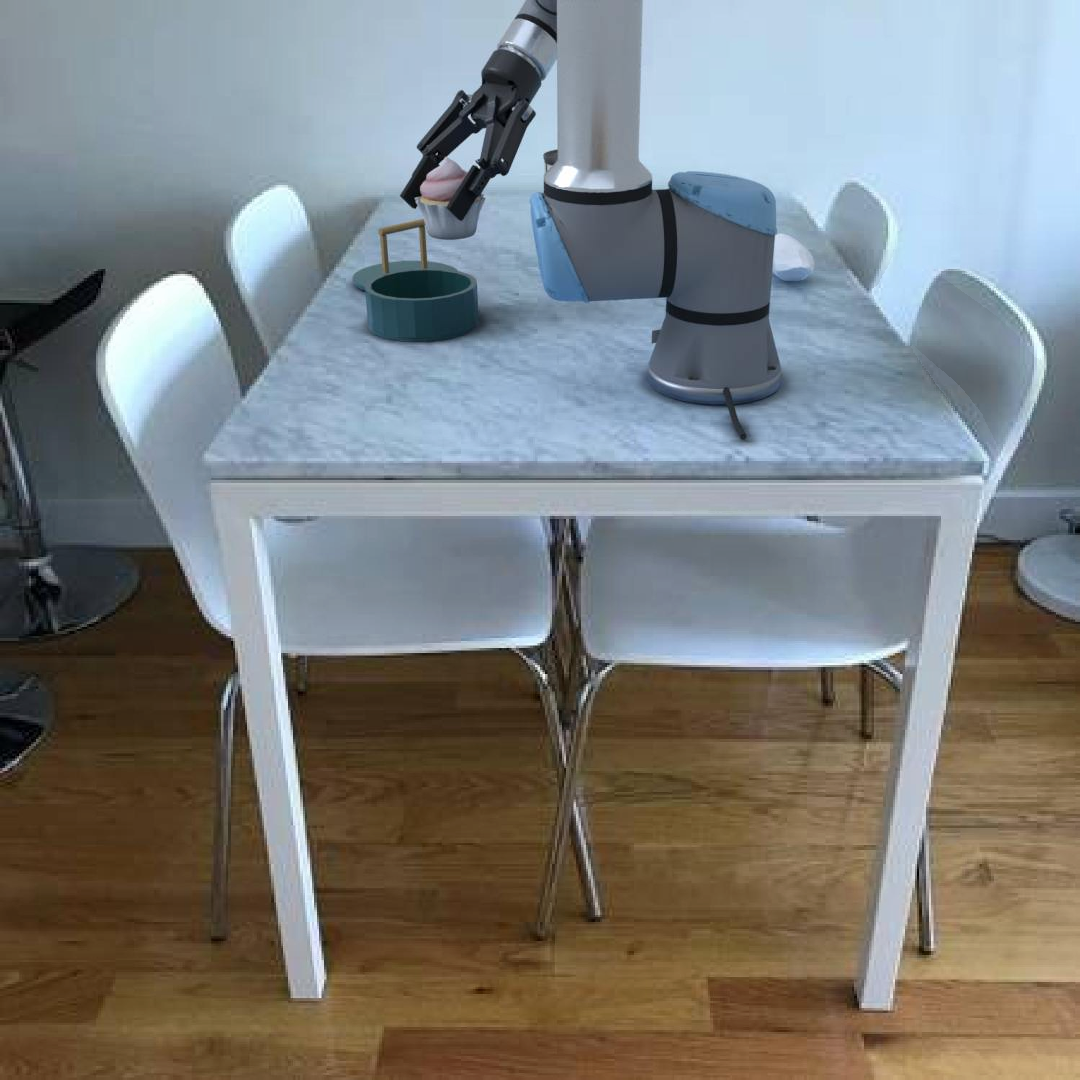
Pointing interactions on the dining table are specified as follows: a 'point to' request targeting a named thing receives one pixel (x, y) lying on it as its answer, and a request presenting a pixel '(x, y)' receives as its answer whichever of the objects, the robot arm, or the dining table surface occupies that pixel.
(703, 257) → the robot arm
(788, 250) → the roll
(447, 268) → the tin lid
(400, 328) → the tin
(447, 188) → the cupcake
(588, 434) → the dining table surface
